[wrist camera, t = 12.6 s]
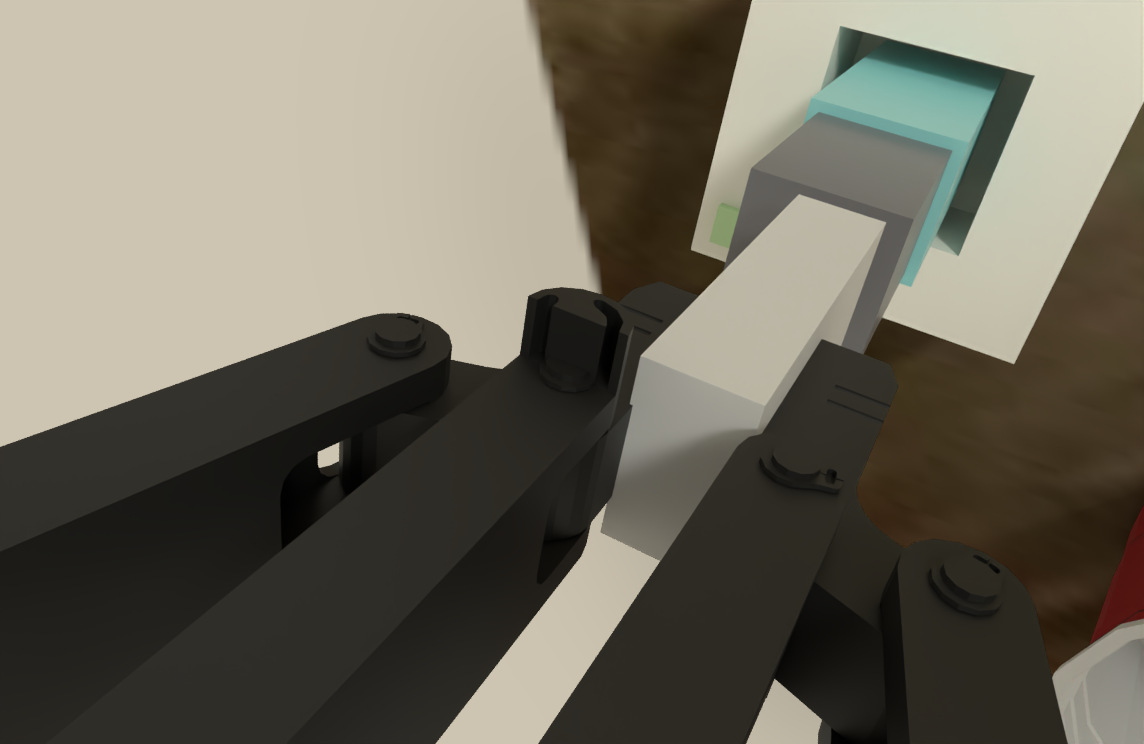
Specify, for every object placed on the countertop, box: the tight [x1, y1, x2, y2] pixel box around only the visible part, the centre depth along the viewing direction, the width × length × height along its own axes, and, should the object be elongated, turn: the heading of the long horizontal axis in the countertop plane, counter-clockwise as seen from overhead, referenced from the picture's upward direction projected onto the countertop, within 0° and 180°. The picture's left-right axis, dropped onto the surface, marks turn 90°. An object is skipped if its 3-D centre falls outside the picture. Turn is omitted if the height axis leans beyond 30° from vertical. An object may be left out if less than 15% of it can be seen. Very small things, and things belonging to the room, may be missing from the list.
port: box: [691, 0, 1144, 364], centre depth 27 cm, size 10×10×6 cm
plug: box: [723, 40, 1006, 354], centre depth 23 cm, size 4×4×14 cm
